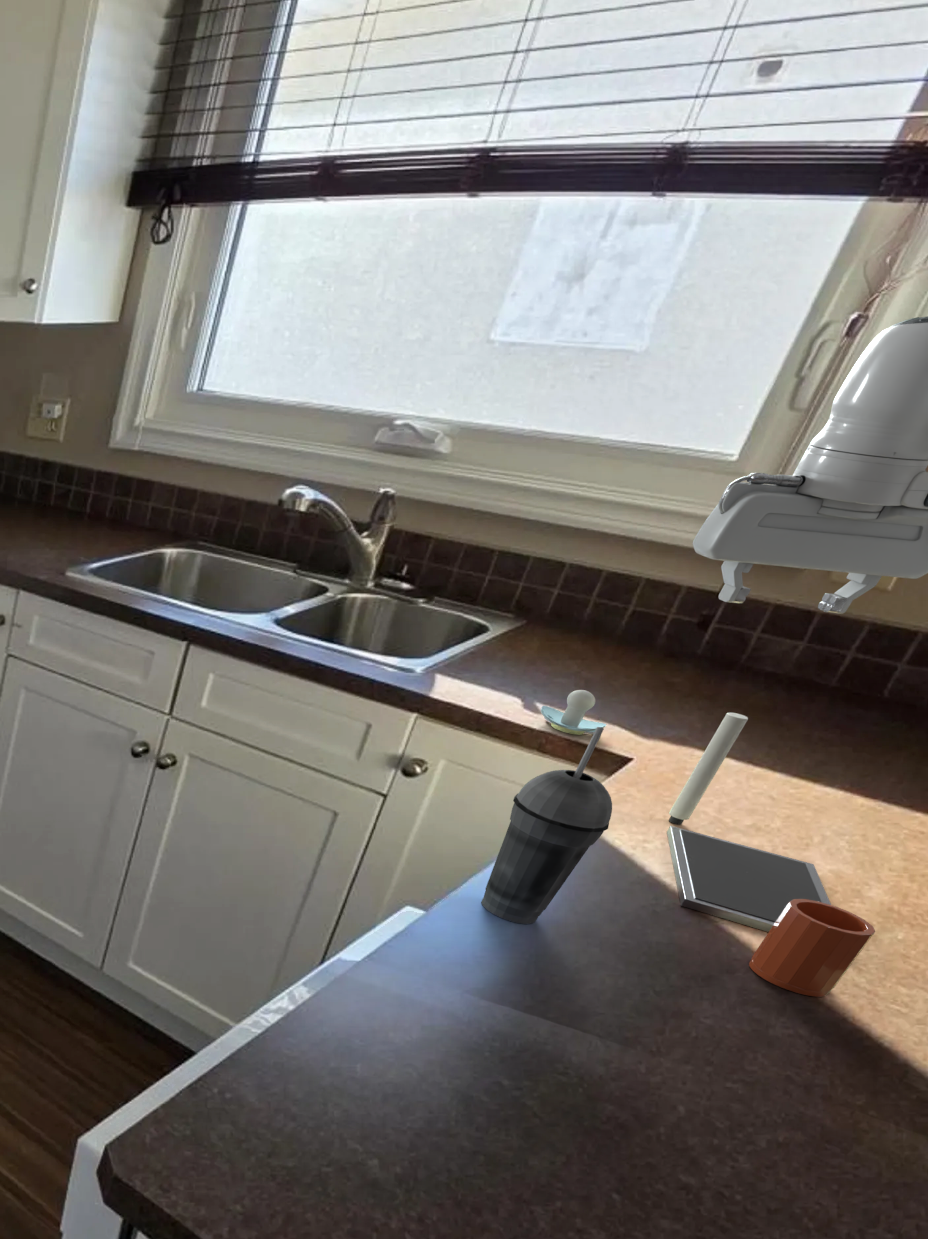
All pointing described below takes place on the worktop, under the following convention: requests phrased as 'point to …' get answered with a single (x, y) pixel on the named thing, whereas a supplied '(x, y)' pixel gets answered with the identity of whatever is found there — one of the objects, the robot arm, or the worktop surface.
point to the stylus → (707, 767)
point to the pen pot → (810, 947)
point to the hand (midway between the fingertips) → (779, 606)
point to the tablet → (739, 879)
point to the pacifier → (573, 714)
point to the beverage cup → (546, 839)
